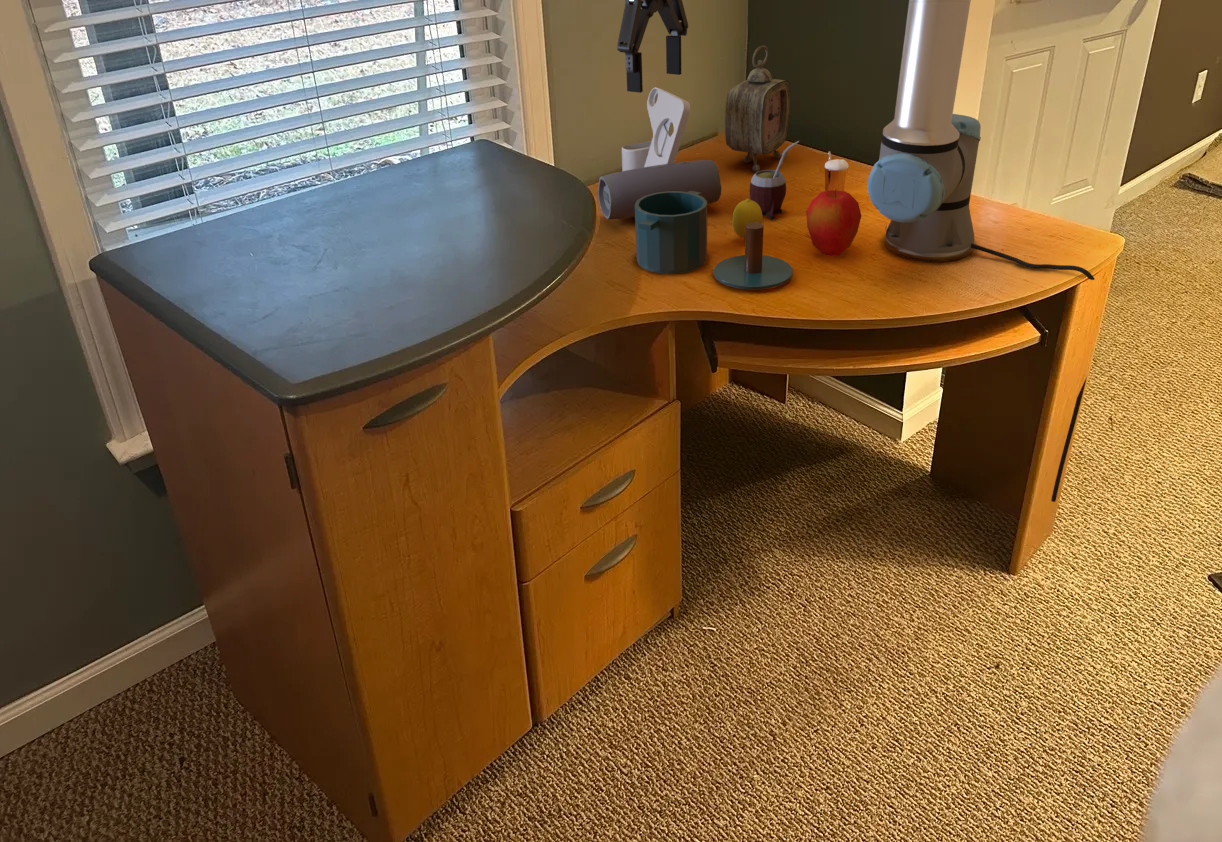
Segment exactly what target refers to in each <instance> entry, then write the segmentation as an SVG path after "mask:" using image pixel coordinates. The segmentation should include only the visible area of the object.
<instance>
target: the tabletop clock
mask: <svg viewBox="0 0 1222 842" xmlns="http://www.w3.org/2000/svg"><path fill="white" fill-rule="evenodd" d="M761 50H764V51H765V57H764V59H763V60H762V59H758V60H757V64H756V63H755V59H756V56H757V54H758V52H759V51H761ZM768 57H769V49H768V47H767V46H766V45H760V46H758V47H757V48H756V49H755V50H754V52H753V54H752V58H751V59H752V66H753V69H752V70H751V71H750V72H749V74H748V76H747V79H746V80H743V81H742V82H740V83H738V84H737V85H735V86H733V87H731V88H730V89H729V90H728V92H727V93H726V98H725V99H726V100H725V115H724V134H725V142H726V146H727V147H729V148H730V149H731V150H732V151H737V152H743V153H747V154H746V155H745V156H744V157H743V161H744V163H747V164H749V163H750V162H751V161H752V160H753V165H752V167H751V168H752V171H753V172H755V173H757V172H759V171H760V168H761V167H760V165H759V164H758V162H757V161H758V157H757V155H764V156H767V155H769V154H772V153H773V154H772V155H773V157H774V158H775V159H778V158H781V156H782V153H781V151H780V150H778V149H779V148H780V147H781V146H783V144H785V142H786V140H787V138H788V133H789V128H790V127H789V126H790V115H791V114H790V113H791V85H790V81H789V80H786V79H777V78H773V77H772V73H771V72H770V71H769V70H768V69H767V68H764V67H763V66H765V65H766V62H767V61H768ZM751 156H752V157H751Z"/></svg>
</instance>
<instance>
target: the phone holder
mask: <svg viewBox="0 0 1222 842" xmlns="http://www.w3.org/2000/svg"><path fill="white" fill-rule="evenodd" d="M646 108H647V112H648V117H649V120H650V126H651V131H652V138H651V140H648V141H647V140H646V141H642V142H641V141H640V142H636V143H630V144H625V145H623V146H622V147H621V169H622V170H621V172H622V171H627V170H632V169H637V168H643V167H649V166H656V165H663V164H670V163H676V159H677V156H678V152H679V150H680V146H681V143H682V140H683V137H684V133H685V130H686V126H687V123H688V120H689V116H690V113H691V104H690V102H689V101H688V100H685V99H684V98H681V97H680V96H677V95H675V94H673V93H672V92H669V91H667V90H665V89H663V88H660V87H652V88H651V90H650V92H649V94H648V97H647V101H646ZM672 125H673V132H672V133H671V135H670V128H671V126H672Z"/></svg>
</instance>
